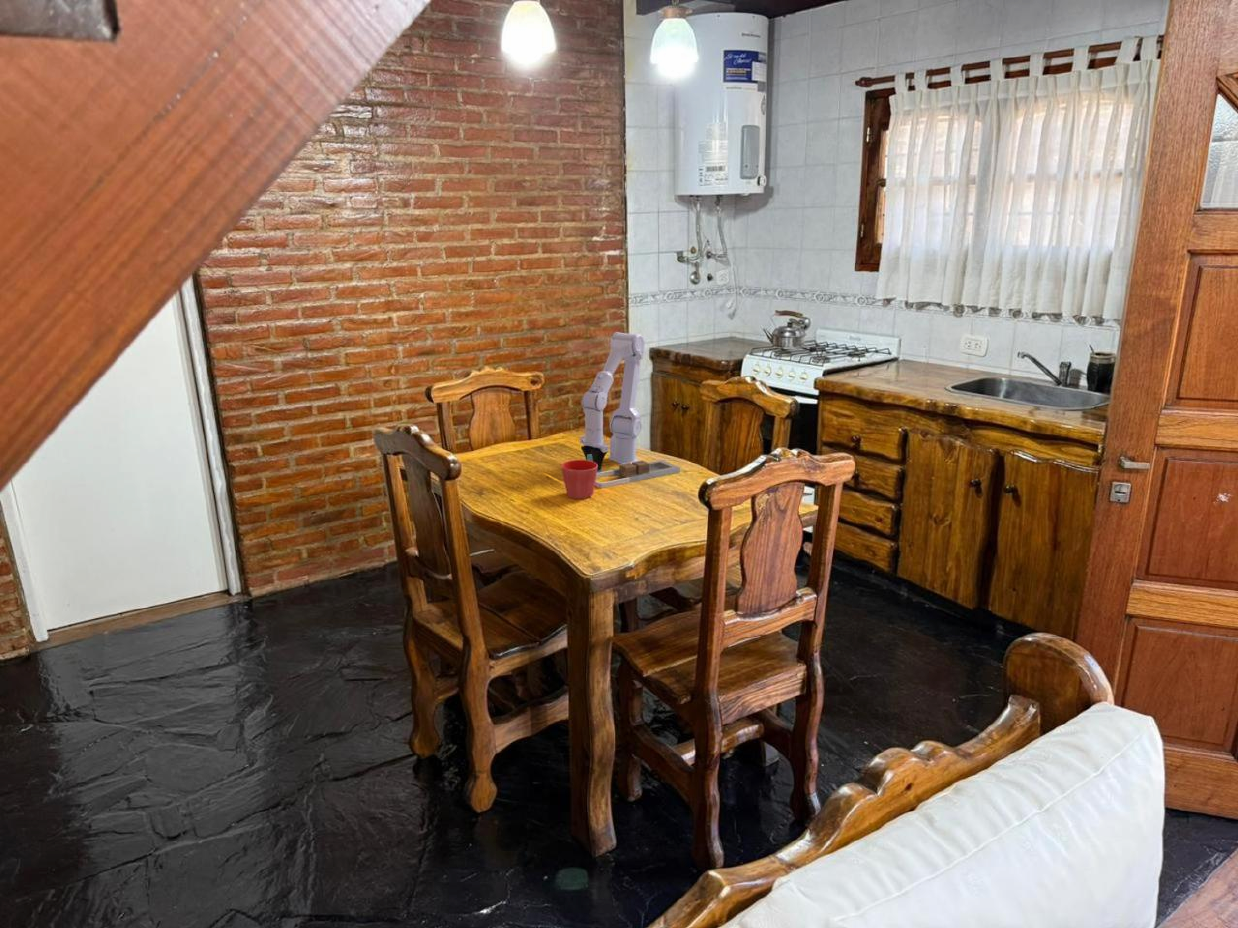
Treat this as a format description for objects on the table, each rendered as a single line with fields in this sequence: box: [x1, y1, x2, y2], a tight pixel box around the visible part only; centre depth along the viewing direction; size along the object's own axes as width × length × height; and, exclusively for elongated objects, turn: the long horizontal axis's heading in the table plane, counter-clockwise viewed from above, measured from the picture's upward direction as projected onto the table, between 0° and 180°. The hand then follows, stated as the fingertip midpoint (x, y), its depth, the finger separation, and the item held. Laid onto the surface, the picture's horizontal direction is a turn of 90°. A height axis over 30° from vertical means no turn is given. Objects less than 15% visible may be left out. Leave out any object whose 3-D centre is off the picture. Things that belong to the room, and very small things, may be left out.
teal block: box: [587, 454, 603, 473], centre depth 273 cm, size 6×5×6 cm
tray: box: [594, 469, 631, 489], centre depth 265 cm, size 10×11×2 cm
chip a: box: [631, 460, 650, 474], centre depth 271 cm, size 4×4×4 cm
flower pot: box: [561, 459, 598, 500], centre depth 252 cm, size 11×11×10 cm
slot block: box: [612, 459, 681, 483], centre depth 273 cm, size 10×20×2 cm, turn 123°
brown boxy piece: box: [618, 463, 636, 479], centre depth 269 cm, size 4×4×4 cm
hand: (594, 468), depth 274 cm, fingers closed on teal block, 3 cm apart
